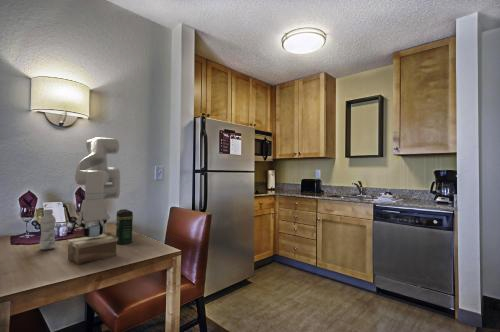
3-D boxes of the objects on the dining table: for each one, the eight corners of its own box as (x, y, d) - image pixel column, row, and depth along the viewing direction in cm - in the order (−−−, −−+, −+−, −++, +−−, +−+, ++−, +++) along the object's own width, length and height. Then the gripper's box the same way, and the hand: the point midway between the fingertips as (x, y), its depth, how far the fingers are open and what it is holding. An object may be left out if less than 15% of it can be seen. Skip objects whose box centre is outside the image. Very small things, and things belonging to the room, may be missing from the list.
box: (68, 258, 120) (68, 243, 121) (104, 250, 133) (104, 236, 133) (79, 264, 113) (79, 248, 113) (116, 255, 126) (116, 241, 126)
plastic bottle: (46, 251, 130) (47, 211, 130) (35, 250, 131) (36, 210, 132) (58, 247, 136) (59, 209, 137) (47, 246, 138) (48, 208, 138)
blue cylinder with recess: (84, 236, 123) (85, 225, 123) (96, 234, 127) (96, 224, 127) (89, 238, 120) (90, 227, 120) (101, 235, 124) (101, 225, 124)
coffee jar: (133, 243, 148) (134, 210, 148) (118, 245, 143) (119, 211, 143) (129, 239, 155) (129, 208, 155) (114, 241, 150) (115, 209, 150)
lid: (67, 243, 120) (67, 236, 121) (104, 236, 134) (105, 230, 134) (78, 248, 113) (78, 241, 113) (117, 240, 126) (117, 234, 126)
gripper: (108, 195, 133) (108, 230, 133) (70, 197, 119) (69, 237, 119) (116, 196, 128) (115, 233, 128) (77, 198, 115) (76, 240, 114)
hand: (93, 234), depth 124 cm, fingers closed on blue cylinder with recess, 5 cm apart
